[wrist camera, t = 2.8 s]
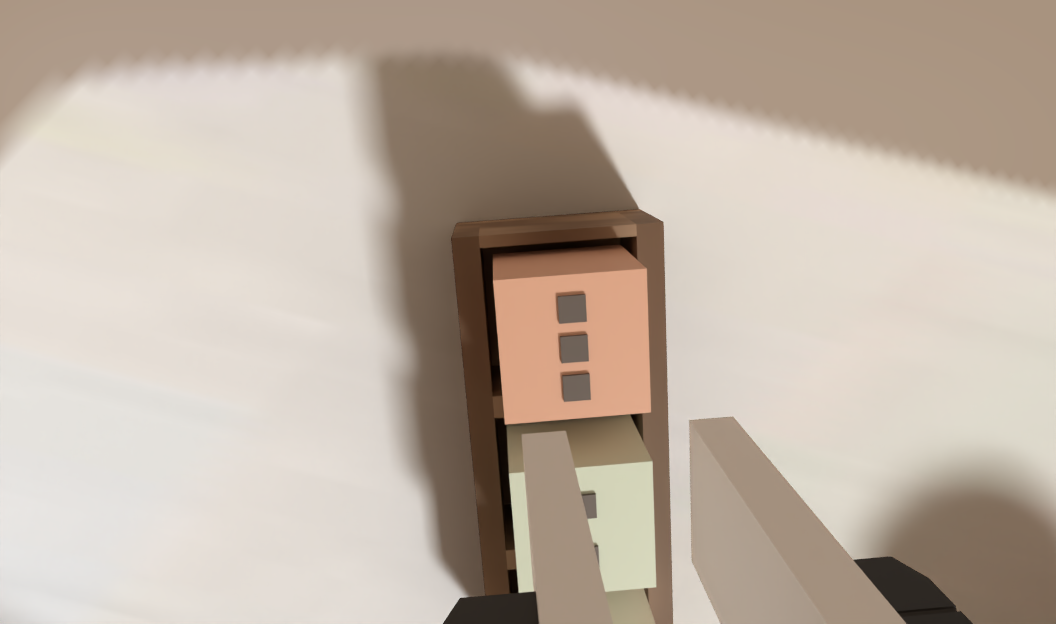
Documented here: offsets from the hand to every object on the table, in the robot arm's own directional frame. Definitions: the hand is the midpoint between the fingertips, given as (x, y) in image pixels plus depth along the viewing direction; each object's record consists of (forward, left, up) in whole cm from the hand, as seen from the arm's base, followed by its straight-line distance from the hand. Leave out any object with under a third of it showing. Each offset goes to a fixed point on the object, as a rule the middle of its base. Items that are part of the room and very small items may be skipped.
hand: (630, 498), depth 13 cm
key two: (0, -6, -13) cm, 15 cm away
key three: (0, 0, -13) cm, 13 cm away
